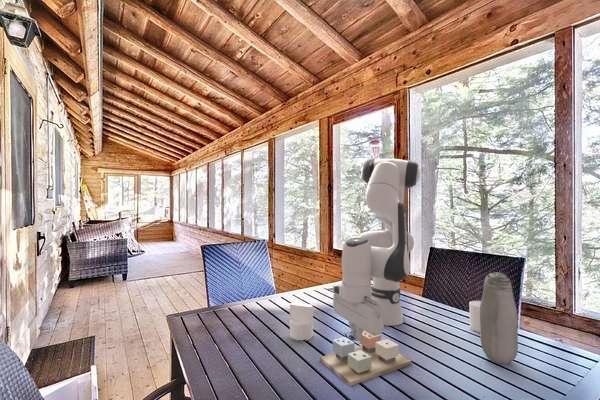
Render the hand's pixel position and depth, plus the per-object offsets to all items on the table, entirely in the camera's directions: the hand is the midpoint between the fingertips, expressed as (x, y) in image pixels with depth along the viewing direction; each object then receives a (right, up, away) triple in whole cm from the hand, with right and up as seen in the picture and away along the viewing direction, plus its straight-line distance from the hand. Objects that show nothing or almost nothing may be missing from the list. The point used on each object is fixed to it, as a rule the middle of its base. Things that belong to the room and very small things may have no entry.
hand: (356, 337), depth 94 cm
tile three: (-3, -7, +6) cm, 10 cm away
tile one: (+10, -7, +4) cm, 13 cm away
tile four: (+7, -7, +11) cm, 15 cm away
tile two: (+1, -8, -1) cm, 8 cm away
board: (+4, -10, +5) cm, 12 cm away
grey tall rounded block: (+47, -10, +5) cm, 48 cm away
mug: (+55, -10, +28) cm, 63 cm away
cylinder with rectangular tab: (-17, -11, +26) cm, 33 cm away
